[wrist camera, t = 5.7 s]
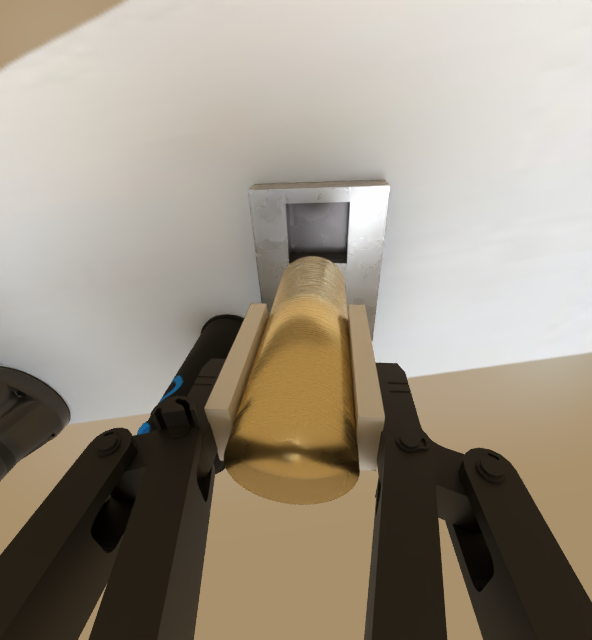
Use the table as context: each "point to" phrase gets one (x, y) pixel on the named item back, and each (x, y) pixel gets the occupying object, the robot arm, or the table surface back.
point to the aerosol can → (202, 363)
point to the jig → (321, 233)
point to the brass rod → (299, 395)
